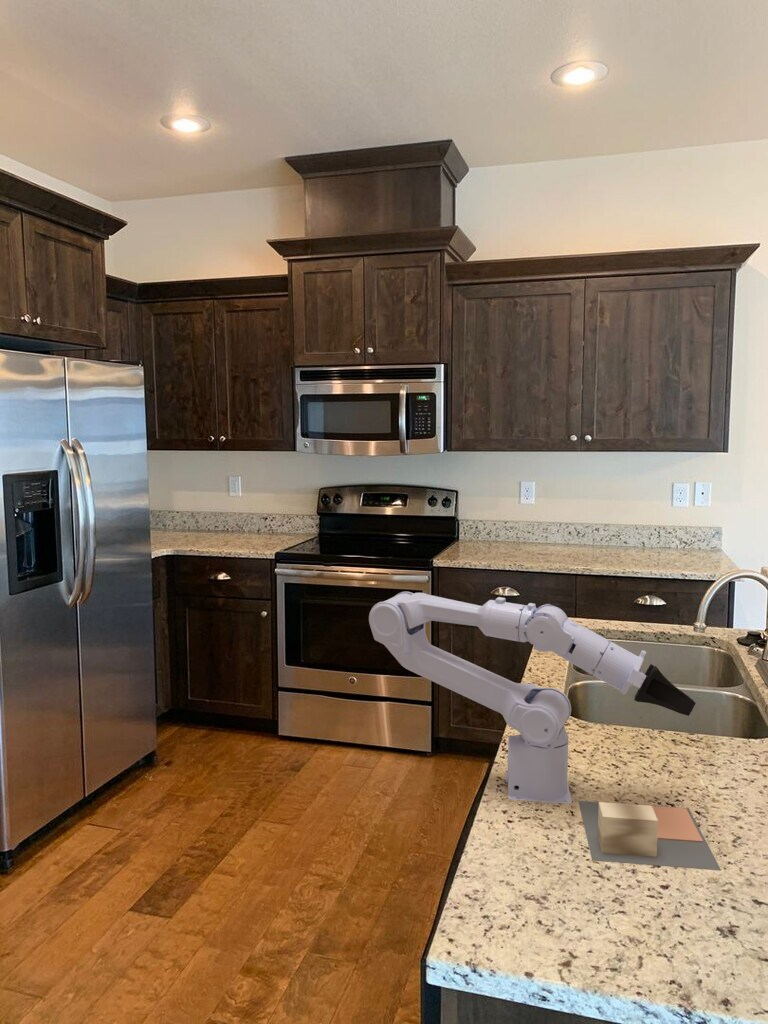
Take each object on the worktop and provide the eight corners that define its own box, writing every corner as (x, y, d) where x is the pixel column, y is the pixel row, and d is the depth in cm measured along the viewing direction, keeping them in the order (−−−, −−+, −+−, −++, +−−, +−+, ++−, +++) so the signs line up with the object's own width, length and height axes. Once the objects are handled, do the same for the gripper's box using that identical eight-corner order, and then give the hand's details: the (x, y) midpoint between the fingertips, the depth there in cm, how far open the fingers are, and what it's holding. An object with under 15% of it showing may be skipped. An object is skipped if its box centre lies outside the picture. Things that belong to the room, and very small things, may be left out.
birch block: (601, 852, 99) (602, 816, 99) (597, 836, 103) (598, 802, 103) (656, 856, 98) (658, 820, 98) (650, 840, 102) (651, 805, 102)
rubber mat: (592, 862, 98) (592, 858, 98) (578, 803, 114) (578, 799, 113) (720, 873, 96) (721, 868, 95) (688, 810, 111) (688, 806, 111)
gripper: (614, 633, 105) (708, 684, 100) (614, 635, 118) (698, 681, 113) (590, 677, 104) (683, 731, 100) (593, 675, 118) (675, 722, 113)
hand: (689, 707), depth 107 cm, fingers open, 7 cm apart
